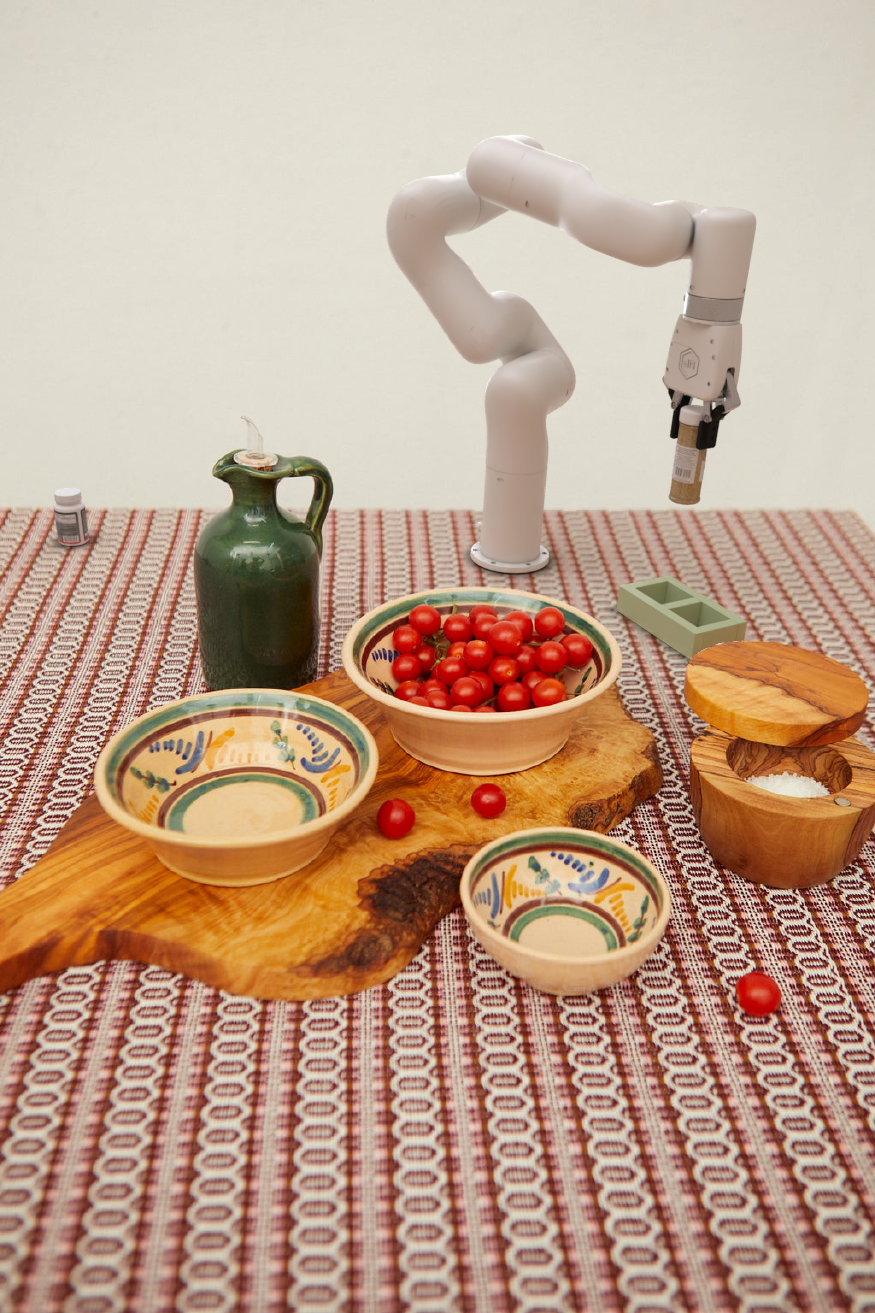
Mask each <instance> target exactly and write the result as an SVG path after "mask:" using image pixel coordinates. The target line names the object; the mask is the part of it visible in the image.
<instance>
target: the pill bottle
mask: <svg viewBox="0 0 875 1313" xmlns="http://www.w3.org/2000/svg"><path fill="white" fill-rule="evenodd" d="M53 495H54V496H53V497H54V501H55V502H54V504H53V513H54V520H55V527H56V534H57V540H58V543H59V544H60V545H62V546H65V547H78V546H81V545H85V544H86V543H87V542H89V540H90V535H89V527H88V519H87V518H88V517H87V510H86V505H85V502H84V501H83V500H82V498H83V496H82V491H81V489H79V488H77V487H62V488H58V489H56V490H54V492H53Z"/></svg>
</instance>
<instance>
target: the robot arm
mask: <svg viewBox="0 0 875 1313" xmlns="http://www.w3.org/2000/svg"><path fill="white" fill-rule="evenodd" d="M466 160H467V161H466V165H465V167H464V168H462V169H460V170H458V171H457V172H454V173H450V174H442V175H432V176H425V177H419V178H416V179H414V180H412V181H409V182H407V183H406V184H404V185H403V186H401V187H400V189H399V190H398V191H396V193H395V194H394V196H393V197H392V199H391V202H390V204H389V206H388V209H387V212H386V219H385V220H386V221H385V235H386V237H385V238H386V242H387V243H386V244H387V246H388V250H389V252H390V255H391V258H392V260H393V261H394V264H395V265H396V267H397V268H398V270H399V271H400V273H401V274H402V276H403V277H404V278H405V279H406V281H407V282H408V284H409V285H410V286H411V287H412V288H413V290H414V291H415V293H416V294H417V295H418V296H419V298H420V300H422V302H423V303H424V305H425V307H426V308H427V309H428V311H429V313H430V314H431V316H432V317H433V319H434V320H435V321H436V323H437V324H438V326H439V328H440V329H441V330H442V331H443V333H444V335H445V336H446V337H447V338H448V340H449V342H450V343H451V344H452V346H453V347H454V349H455V350H456V352H457V353H458V355H460V357H461V358H462V359H463V360H465V361H467V363H469V364H473V365H486V364H489V363H491V362H494V361H497V360H499V361H500V362H501V364H502V365H501V366H499V367H498V368H497V369H496V370H494V372H493V373H492V375H491V376H490V377H489V379H488V381H487V383H486V386H485V389H484V393H483V394H484V395H483V404H484V405H483V406H484V407H483V408H484V418H485V427H486V445H485V446H486V447H485V471H484V472H485V473H484V486H483V503H482V520H481V521H477V522H476V523H475V525H474V528H475V529H476V530H477V531H478V532H480V533H479V541H476V542H475V543H474V544H472V546H471V548H470V560H472V562H473V563H475V564H476V565H478V566H480V567H481V568H484V569H486V570H489V571H493V572H498V573H505V574H526V573H533V572H535V571H539V570H541V569H543V568H545V566H547V565H548V564H549V561H550V551H549V550H548V548H546V547H545V546H544V545H543V544H542V531H543V521H544V511H545V499H546V498H545V497H546V487H547V478H548V462H549V436H548V429H547V417H548V415H550V414H551V413H553V412H554V411H556V410H559V409H560V408H561V407H563V406H564V405H566V404H567V403H568V402H569V401H570V399H571V398H572V396H573V394H574V392H575V389H576V383H577V377H576V372H575V368H574V366H573V363H572V361H571V360H570V358H569V355H568V354H567V353H566V351H565V350H564V349H563V346H562V345H561V344H560V343H559V341H558V340H557V338H556V337H555V335H554V334H553V332H552V331H551V330H550V329H549V327H548V325H547V324H546V322H545V321H544V320H543V318H542V317H541V316H540V314H539V313H538V311H537V310H536V308H535V307H534V306H533V305H532V303H530V301H528V300H527V299H526V298H525V297H524V296H522V295H520V294H518V293H516V292H514V291H511V290H497V291H493V292H490V291H489V290H488V289H487V288H486V287H485V286H484V284H483V283H482V282H481V280H479V277H478V276H477V275H476V274H475V272H474V271H473V269H472V267H471V266H470V265H469V264H468V263H467V261H466V260H465V259H464V258H463V257H462V256H461V255H459V253H458V252H456V251H455V250H454V249H453V248H452V247H451V246H450V245H449V244H448V242H447V240H446V238H451V237H455V236H460V235H465V234H467V233H470V232H472V231H475V230H476V229H479V228H481V227H483V226H484V225H486V224H488V223H489V222H491V221H493V220H494V219H497V218H498V217H500V216H501V215H504V214H505V213H507V212H509V211H511V212H514V213H517V214H520V215H522V216H525V217H528V218H530V219H533V220H536V221H538V222H540V223H543V224H545V225H549V226H551V227H554V228H556V229H558V230H560V231H562V232H563V233H565V235H567V236H569V237H570V238H572V239H574V240H575V241H577V242H579V243H580V244H582V245H584V246H585V247H588V248H590V249H591V250H593V251H596V252H598V253H600V254H603V255H606V256H609V257H611V258H614V259H616V260H620V261H622V262H625V263H627V264H631V265H632V266H633V265H634V266H637V267H642V268H657V267H660V266H663V265H666V264H669V263H672V262H676V261H681V260H690V262H689V270H688V276H687V284H686V290H685V291H686V292H685V294H684V295H683V302H684V307H683V312H682V313H680V314H678V317H677V320H676V322H675V326H674V327H673V328H674V329H673V331H672V332H673V333H672V334H671V335H672V336H671V339H670V343H669V347H668V352H667V357H666V362H665V367H664V368H665V370H664V374H663V376H662V383H663V385H664V386H665V388H666V390H667V393H668V396H669V398H670V400H671V402H670V408H671V409H672V416H671V424H670V432H669V438H670V439H673V440H676V439H678V433H679V427H680V423H679V422H680V420H679V417H680V411H681V408H682V407H683V406H686V405H692V403H693V400H694V399H697V400H700V401H702V406H703V417H704V420H702V421H700V422H699V428H698V434H697V441H696V449H698V450H703V449H707V450H710V449H714V448H715V447H716V446H717V440H718V434H719V428H720V422H721V421H724V419H725V417H726V416H727V415H728V414H730V413H731V412H732V411H734V410H736V409H737V408H740V407H741V404H742V402H741V397H740V394H739V391H738V385H739V384H738V383H739V379H740V378H739V377H740V370H741V364H742V363H741V362H742V353H743V351H742V350H743V324H742V323H741V319H742V314H743V308H744V303H745V302H744V301H745V295H746V289H747V283H748V278H749V273H750V266H751V260H752V255H753V248H754V241H755V238H756V237H755V236H756V230H757V218H756V215H755V214H754V212H752V211H751V210H748V209H745V208H740V207H731V206H727V207H726V206H707V205H702V204H698V203H694V202H691V201H686V200H681V199H670V200H665V201H659V202H655V203H648V202H646V201H643V200H639V199H637V198H636V199H635V198H633V197H630V196H628V195H625V194H622V193H619V192H617V191H615V190H612V189H610V188H607V187H605V186H604V185H602V184H600V183H598V182H597V181H596V180H595V179H594V178H593V176H592V174H591V171H590V169H589V167H587V166H586V165H584V164H583V163H580V162H578V161H574V160H571V159H568V158H565V157H563V156H559V155H557V154H554V153H550V152H548V151H546V149H545V148H544V146H543V145H542V144H541V143H540V142H539V140H536V139H535V138H534V137H531V136H529V135H525V134H511V135H510V134H509V135H508V134H507V135H495V136H490V137H487V138H485V139H483V140H481V141H480V142H478V144H476V145H475V146H474V148H472V151H470V153H469V155H468V157H467V159H466ZM713 403H715V404H714V405H715V406H714V408H713ZM712 409H713V410H712Z"/></svg>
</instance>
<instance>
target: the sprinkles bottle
mask: <svg viewBox="0 0 875 1313" xmlns="http://www.w3.org/2000/svg"><path fill="white" fill-rule="evenodd" d="M713 409H714V408H712V410H713ZM679 420H680V422H679V423H680V427H679V433H678V438H677V440H676V444H675V452H674V457H673V458H674V459H673V465H672V472H671V482H670V489H669V492H668V499H669V500H670V501H671V502H673V503H675V504H677V505H683V506H691V505H692V506H693V505H696V504H698V503H699V502H701V490H702V484H703V480H704V476H705V467H706V461H707V455H708V454H707V453H708V449H703V450H698V449H696V441H697V434H698V428H699V422H700V421H702V420H704V417H703V405H700V404H699V405H698V404H691V405H686V406H683V407H682V408H681V411H680V417H679Z"/></svg>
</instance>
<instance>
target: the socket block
mask: <svg viewBox="0 0 875 1313" xmlns="http://www.w3.org/2000/svg"><path fill="white" fill-rule="evenodd" d="M617 594H618V595H617V603H616V611H617V612H618V613H620V614H621V615H623V616H624V617H625V618H627V619H629V621H632V622H633V623H635V624H636V625H638V626H639V627H641V629H643V630H645V631H647V633H649V634H651V635H653V636H654V637H655V638H657V639H658V640H660V641H661V642H663V643H664V644H666V645H668V646H669V647H671V648H672V649H673V650H675V651H676V652H677V653H679V654H681V655H682V656H684V657H685V658H687V659H688V660H690V658H691V657H692V656H693V655H694V654H697V653H698V652H700V651H701V650H703V649H705V648H708V647H711V646H713V645H714V644H718V643H722V642H731V641H742V640H744V641H745V637H746V632H747V626H748V621H747V620H746V619H744V618H742V617H740V616H739V615H737V614H736V613H734V612H732V611H731V610H729V609H728V608H725V607H724V606H723V605H721V604H719V603H717V602H716V601H714V600H712V599H710V598H709V597H707V596H706V595H704V594H702V593H700V592H698V591H697V590H695V589H693V588H692V587H690V586H688V585H687V584H685V583H683V582H682V581H680V580H678V579H677V578H675V577H673V576H672V575H670V574H668V575H664V576H663V575H662V576H657V577H653V578H649V579H644V580H639V581H634V582H630V583H624V584H620V585H619V586H618V593H617Z"/></svg>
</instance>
